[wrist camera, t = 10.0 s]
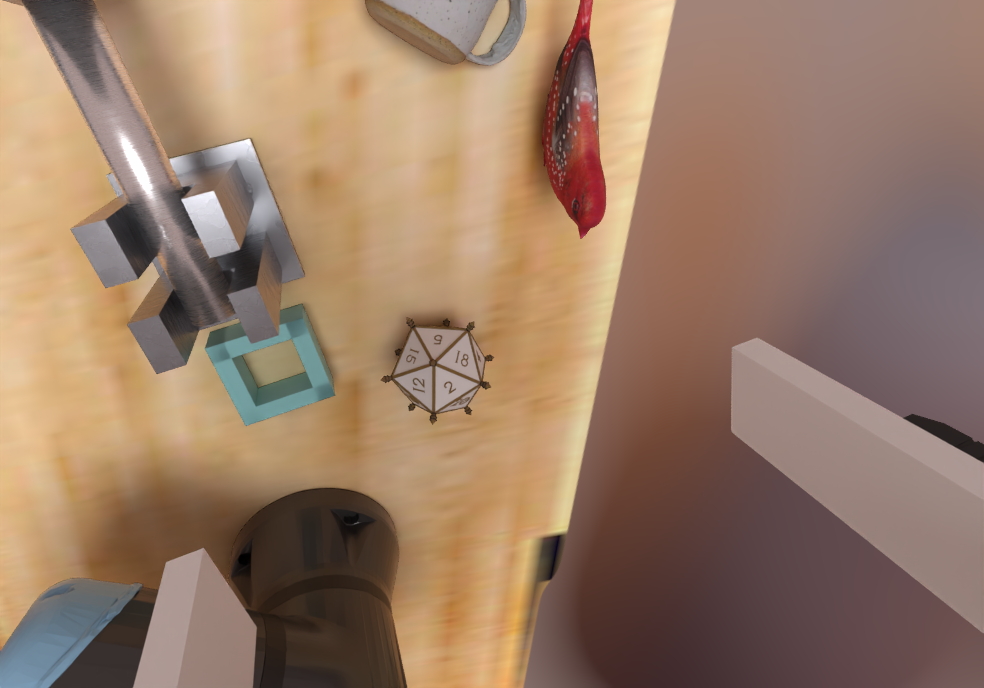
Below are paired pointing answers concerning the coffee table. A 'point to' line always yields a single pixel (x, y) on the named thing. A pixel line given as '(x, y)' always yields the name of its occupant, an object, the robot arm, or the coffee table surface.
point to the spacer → (280, 395)
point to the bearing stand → (224, 234)
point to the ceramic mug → (449, 26)
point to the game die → (439, 368)
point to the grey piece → (131, 150)
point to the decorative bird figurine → (575, 129)
